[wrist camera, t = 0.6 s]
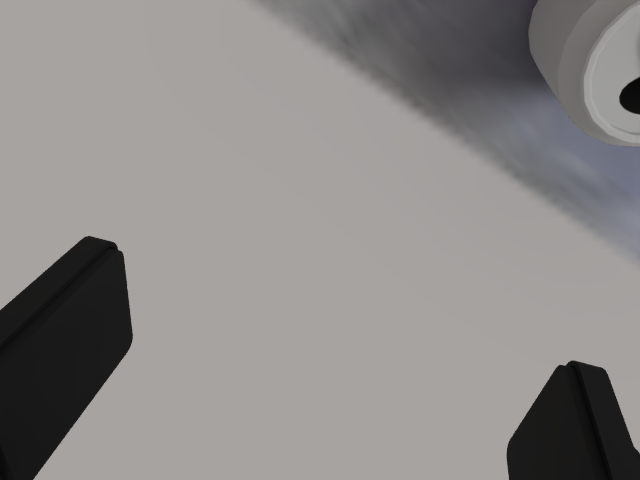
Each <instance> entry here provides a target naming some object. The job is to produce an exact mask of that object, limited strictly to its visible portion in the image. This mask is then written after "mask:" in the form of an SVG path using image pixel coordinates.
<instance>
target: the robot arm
mask: <svg viewBox="0 0 640 480" xmlns="http://www.w3.org/2000/svg"><path fill="white" fill-rule="evenodd" d="M132 339H133V334H132V325H131V317H130V308H129V299H128V290H127V281H126V273H125V264H124V256H123V253H122V252H121V251H119V250H118V248H117V245H116V244H115V243H114V242H111V241H107V240H103V239H99V238H95V237H91V236H88V237H85V238H83V239H82V240H80V241H79V242H78V243H77V244H76V245H75V246H74V247H72V248H71V249H70V250H69V251H68V252H67V253H65V254H64V255H63V256H62V257H61V258H60V259H59V260H58V261H56V262H55V263H54V264H53V265H52V266H51V267H50V268H48V269H47V270H46V271H45V272H44V273H43V274H41V275H40V276H39V277H38V278H37V279H36V280H35V281H33V282H32V283H31V284H30V285H29V286H28V287H27V288H25V289H24V290H23V291H22V292H21V293H20V294H18V295H17V296H16V297H15V298H14V299H13V300H12V301H10V302H9V303H8V304H7V305H6V306H5V307H4V308H2V309H1V310H0V480H33V479H34V478H35V476H36V475H37V474H38V472H39V471H40V470H41V468H42V467H43V466H44V464H45V463H46V461H47V460H48V459H49V457H50V456H51V455H52V453H53V452H54V451H55V449H56V448H57V447H58V445H59V444H60V443H61V441H62V440H63V438H64V437H65V436H66V434H67V433H68V432H69V430H70V429H71V428H72V426H73V425H74V424H75V422H76V421H77V420H78V418H79V417H80V415H81V414H82V413H83V412H84V410H85V409H86V407H87V406H88V405H89V403H90V402H91V401H92V399H93V398H94V397H95V395H96V394H97V392H98V391H99V390H100V389H101V387H102V386H103V384H104V383H105V382H106V380H107V379H108V378H109V376H110V375H111V374H112V372H113V371H114V370H115V368H116V367H117V365H118V364H119V363H120V361H121V360H122V359H123V357H124V356H125V355H126V353H127V352H128V350H129V348H130V346H131V343H132ZM507 465H508V474H509V480H640V454H639V452H638V451H637V450H636V449H635V448H634V446H633V443H632V441H631V438H630V435H629V432H628V430H627V427H626V424H625V421H624V418H623V415H622V413H621V410H620V407H619V404H618V402H617V399H616V396H615V393H614V390H613V388H612V385H611V382H610V379H609V377H608V374H607V372H606V370H604V369H603V368H601V367H596V366H593V365H589V364H585V363H581V362H577V361H570V362H568V364H567V365H566V366H563V365H559V366H558V367H557V368H556V369H555V371H554V372H553V374H552V375H551V377H550V379H549V380H548V381H547V383H546V385H545V386H544V388H543V389H542V391H541V392H540V394H539V395H538V397H537V399H536V400H535V402H534V403H533V405H532V406H531V408H530V410H529V411H528V413H527V414H526V416H525V418H524V419H523V420H522V422H521V423H520V425H519V427H518V428H517V430H516V431H515V433H514V435H513V436H512V438H511V439H510V441H509V444H508V448H507Z"/></svg>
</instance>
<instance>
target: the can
mask: <svg viewBox="0 0 640 480" xmlns="http://www.w3.org/2000/svg"><path fill="white" fill-rule="evenodd" d="M528 35H529V47H530V53H531V55H532V57H533V59H534V61H535V63H536V65H537V67H538V69H539V71H540V72H541V74H542V76H543V77H544V79H545V80H546V82H547V84H548V85H549V87H550V89H551V90H552V92H553V93H554V95H555V97H556V98H557V100H558V101H559V103H560V105H561V106H562V108H563V110H564V111H565V113H566V114H567V116H568V118H569V119H570V120H571V121H572V122H573V123H574V124H575V125H576V126H577V127H579V128H580V129H581V130H582V131H583V132H584V133H585V134H586V135H588V136H590V137H593V138H595V139H598V140H600V141H603V142H605V143H608V144H610V145H622V146H635V147H639V146H640V0H538V2H537V4H536V5H535V7H534V9H533V12H532V17H531V21H530V25H529V30H528Z"/></svg>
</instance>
